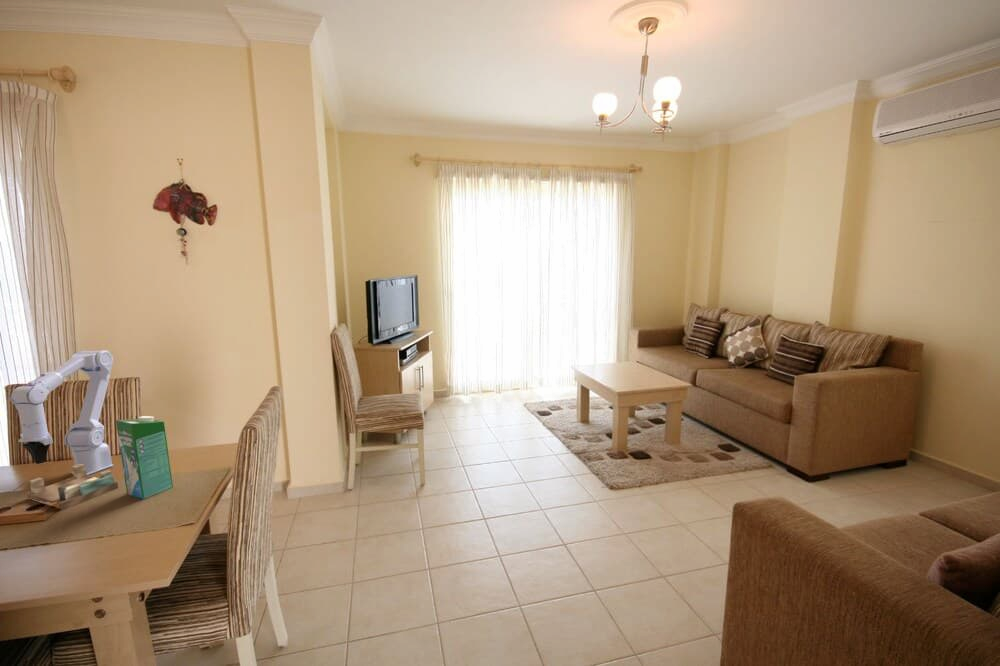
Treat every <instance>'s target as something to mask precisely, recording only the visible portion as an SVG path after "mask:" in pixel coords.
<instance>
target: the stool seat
mask: <svg viewBox="0 0 1000 666" xmlns="http://www.w3.org/2000/svg"><path fill="white" fill-rule="evenodd" d="M71 469H72V471H73V474H72V477H69V478H67V479H63V480H61V481H58V482H55V483H53V484H50V485H46V486H45V480H44V478H42V477H37V478H34V479H33V478H32V479H30V480H29V486H30V489H31V490H30V492H27V493H26V495H27V499H28V498H31V499H35V500H38V501H43V502H50V503H53V502H58V503H59V507H60V509H59V510H60V511H63V510H65V509H68V508H71V507H73V506H76V505H77V504H80V503H83V502H85V500H86V501H87V500H91V499H93V498H95V496H96V497H98V496H100V495H103V494H106V493H108V492H111V491H113V490H116V489H118V488H119V483H118V481H115V480H114V473H113V470H110V469H105V470H104V471H103V470H102V471H101V472H100V471H99V476H95V475H93V474H89V475H88V474H86V470H85V465H84V464H78V465H75V464H74V465H72V466H71ZM93 477H96V478H99V479H98V480H95V481H92V482H90V483H87V484H84V485H81V486H79V488H80V494H79V495H76V496H74V497H71V498H69V499H65V500H60V498H59V492H58V488H59V487H61V486H66V487H69V486H71V485H74V484H77V483H80V482H82V481H85V480H88V479H91V478H93ZM105 492H106V493H105ZM90 498H91V499H90Z"/></svg>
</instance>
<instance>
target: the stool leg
mask: <svg viewBox="0 0 1000 666" xmlns="http://www.w3.org/2000/svg"><path fill="white" fill-rule="evenodd" d="M96 477H97V476H96ZM96 477H93V478H91V479H88V480H85V481H82V482H80V483H77V484H74V485H71V486H69V487H66V486H61V487H59V488H58V492H59V498H60V500H65V499H69V498H71V497H74V496H76V495H79V494H80V488H79V486H81V485H84V484H87V483H90V482H92V481H95V480H98V479H99V478H96Z"/></svg>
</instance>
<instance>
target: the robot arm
mask: <svg viewBox="0 0 1000 666" xmlns="http://www.w3.org/2000/svg"><path fill="white" fill-rule="evenodd" d="M114 360H115V359H114V357H113V355H112V354H111V353H110V351H108V350H106V349H105V350H103V349H102V350H80V351H76V353H74V354H72V355H71V357H70V359H69V360H67V361H65V362H64V363H63V364H62V365H60V366H59V367H58V368H57V369H55V370H54V371H43V372H42V373H40V374H39V375H40V376H38V377H37V378H35V379H34V380H29V381H28V382H27V384H26V385H23V386H18V387H16V388H14V389H13V391H12V392H11V393H10V397H9V401H10V402H11V403H12V404H13V405H14V406H15V407H14V408H15V409H16V410H17V412H18V413H17V414H18V417H19V423H20V424H19V425H20V428H21V433H19V435H20V439H18V443H23V444H22V447H23V448H24V449H25V450H26V451H27V452H28V453H29V455H30V456H31V458H32V460H33V462H34V463H35V465H39V464H42V463H46V462H47V457H48V456H47V455H48V452H49V447H50V445H51V444H54V441H53V437H52V436H51V435H50V432H49V430H48V426H47V419H46V413H45V408H44V402H45V401H46V400H47V398H48V397H47V396H48V395H49V394H50V393H51V392H52V391H55V389H57V388H58V387H59V386H61V385H62V384H63V382H64V380H63V379H65V378H68V376H70V375H72V374H74V373H75V372H77V371H78V370H81V372H83V373H84V374H85V375H87V376H88V377H89V382H88V386H87V389H86V393H85V397H84V399H83V403H82V407H81V411H80V415H79V418H78V420H77V421H75V422H74V423H73V424H71V425H70V427H69V429H68V431H67V432H66V433H65V436H64V439H63V441H64V444H65V446H66V447H68V448H70V450H71V451H72V455H73V461H74V466H75V465H78V464H84V465H85V470H86V474H88V475H93V474H94V473H97V472H100V471H103V470H107V469H109V468H111V467H113V466H114V464H113V463H112V457H111V450H110V447H109V445H108V444H107V443H106V442H103V441H104V440H105V426H104V425H103V424H102V423H101V422H100V421H99V420H100V416H101V413H102V409H103V405H104V401H105V397H106V394H107V390H108V386H109V382H110V378H111V373H112V372H111V371H112V367H113V364H114ZM25 442H26V443H25ZM70 474H71V475H73V470H72V471H71V472H70Z"/></svg>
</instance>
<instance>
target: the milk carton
mask: <svg viewBox="0 0 1000 666" xmlns="http://www.w3.org/2000/svg"><path fill="white" fill-rule="evenodd" d="M115 423H116V424H115V425H116V429H117V430H116V432H117V438H118V444H119V450H120V457H121V463H122V469H123V471H122V472H123V475H124V476H123V477H124V482H125V483H124V484H125V488H126V489H125V491H126V494H127V495H129V496H132V497H135V498H139V499H141V500H144V499H147V498H149V497H152V496H154V495H156V494H158V493H161V492H163V491H167V490H168V489H170V488H173V487H174V484H173V477H172V469H171V464H170V463H171V462H170V456H169V447H168V440H167V432H166V426H165V425H166V424H165V421H162V420H157V419H155V417H154V416H152V415H149V416H148V415H144V416H143V415H142V416H139V417H138V418H133V419H131V418H130V419H119V420H117V419H116V420H115Z"/></svg>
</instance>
